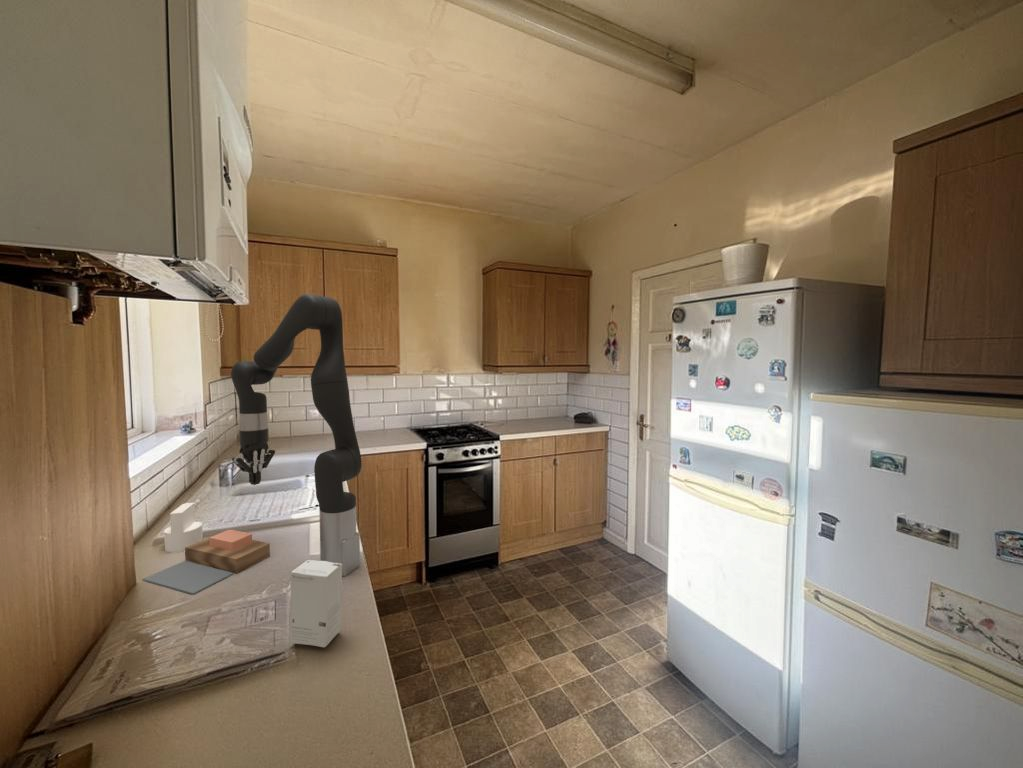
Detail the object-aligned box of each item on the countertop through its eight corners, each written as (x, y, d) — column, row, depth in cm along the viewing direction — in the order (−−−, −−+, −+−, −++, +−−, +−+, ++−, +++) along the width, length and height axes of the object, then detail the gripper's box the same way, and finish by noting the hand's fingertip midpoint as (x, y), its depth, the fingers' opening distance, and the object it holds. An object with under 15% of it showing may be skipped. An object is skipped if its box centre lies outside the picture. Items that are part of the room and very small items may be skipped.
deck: (270, 556, 118) (269, 543, 117) (236, 573, 108) (236, 559, 108) (220, 545, 124) (220, 533, 124) (185, 561, 115) (184, 547, 115)
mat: (233, 574, 108) (233, 573, 108) (193, 594, 99) (193, 593, 98) (184, 562, 114) (184, 560, 114) (142, 580, 105) (142, 578, 105)
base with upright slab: (173, 542, 127) (171, 504, 126) (207, 538, 129) (206, 501, 129) (158, 555, 118) (156, 515, 117) (195, 551, 121) (194, 511, 120)
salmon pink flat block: (252, 541, 118) (252, 533, 118) (232, 550, 113) (232, 542, 113) (230, 537, 121) (229, 529, 121) (209, 545, 116) (209, 537, 115)
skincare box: (288, 644, 82) (287, 572, 81) (307, 625, 88) (306, 558, 87) (327, 648, 81) (326, 576, 80) (344, 628, 87) (342, 561, 86)
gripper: (241, 432, 115) (243, 492, 116) (282, 425, 128) (283, 479, 129) (223, 430, 118) (224, 489, 119) (264, 423, 130) (265, 476, 131)
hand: (255, 483), depth 124 cm, fingers closed
